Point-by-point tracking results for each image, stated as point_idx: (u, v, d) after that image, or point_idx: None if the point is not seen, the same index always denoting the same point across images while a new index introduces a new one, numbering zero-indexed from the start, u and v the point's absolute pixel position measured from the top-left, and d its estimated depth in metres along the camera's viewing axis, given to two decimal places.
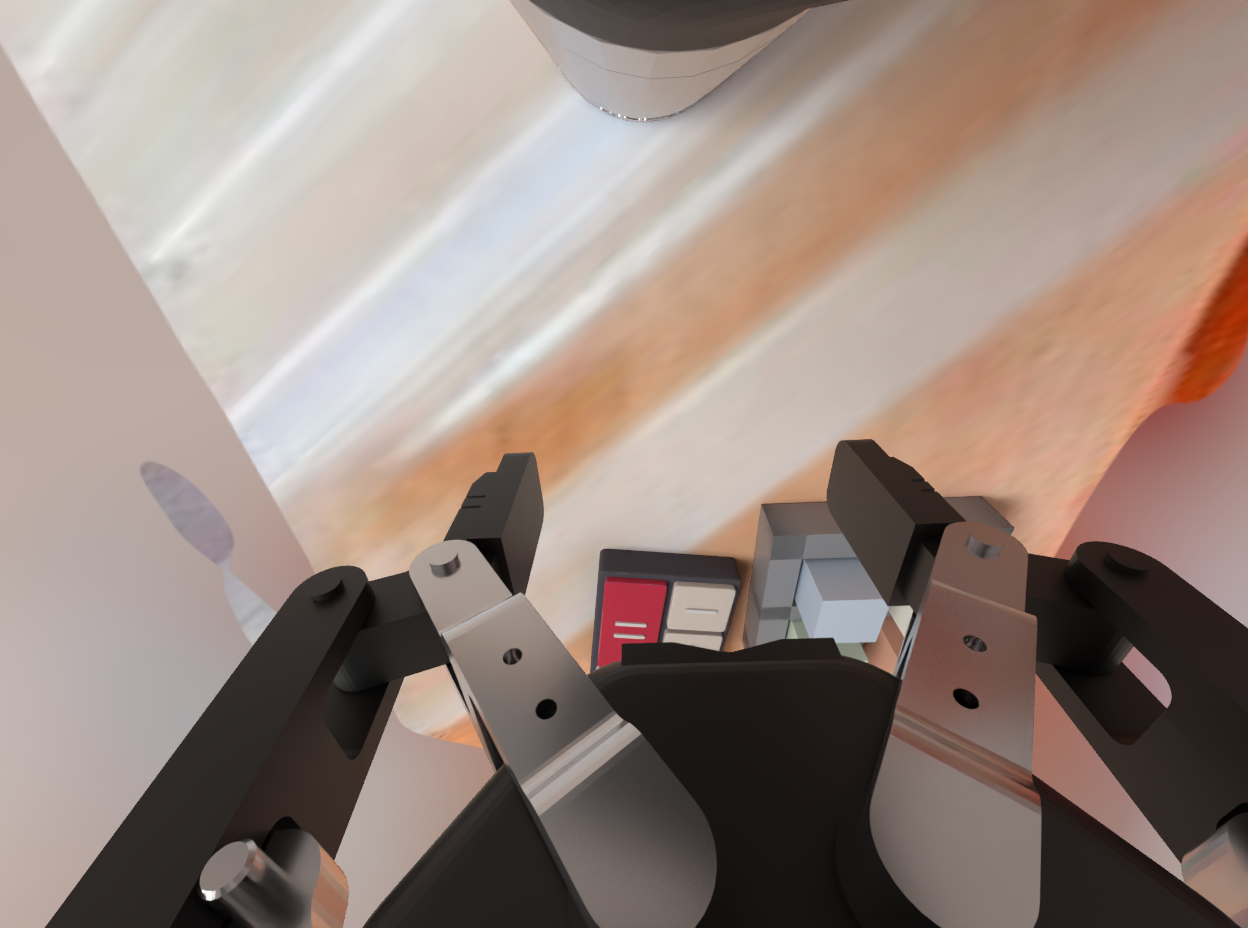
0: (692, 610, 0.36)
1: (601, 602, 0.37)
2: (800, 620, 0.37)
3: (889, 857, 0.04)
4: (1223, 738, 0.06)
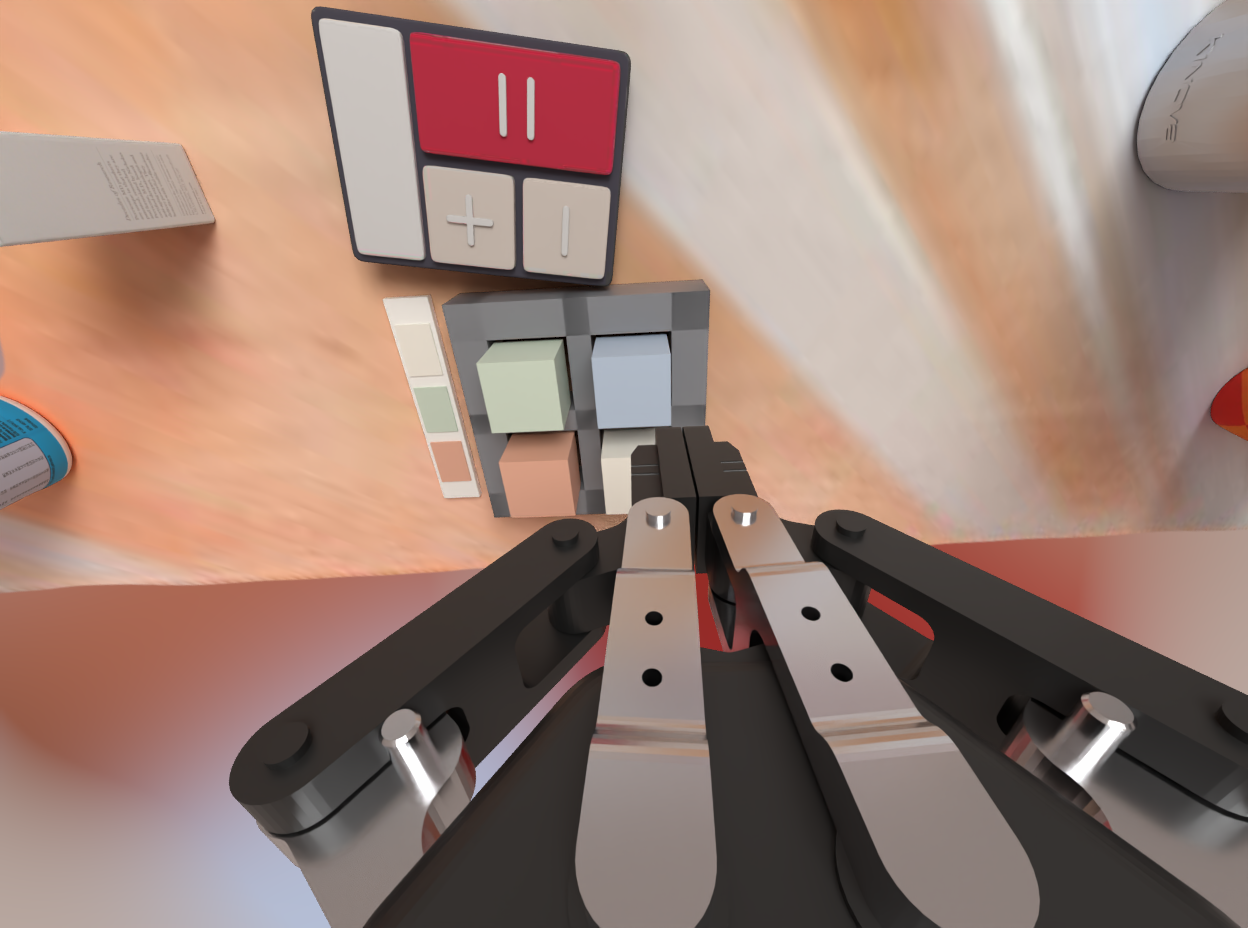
0: (567, 218, 0.26)
1: (564, 52, 0.23)
2: (563, 351, 0.30)
3: (934, 910, 0.04)
4: (980, 653, 0.07)
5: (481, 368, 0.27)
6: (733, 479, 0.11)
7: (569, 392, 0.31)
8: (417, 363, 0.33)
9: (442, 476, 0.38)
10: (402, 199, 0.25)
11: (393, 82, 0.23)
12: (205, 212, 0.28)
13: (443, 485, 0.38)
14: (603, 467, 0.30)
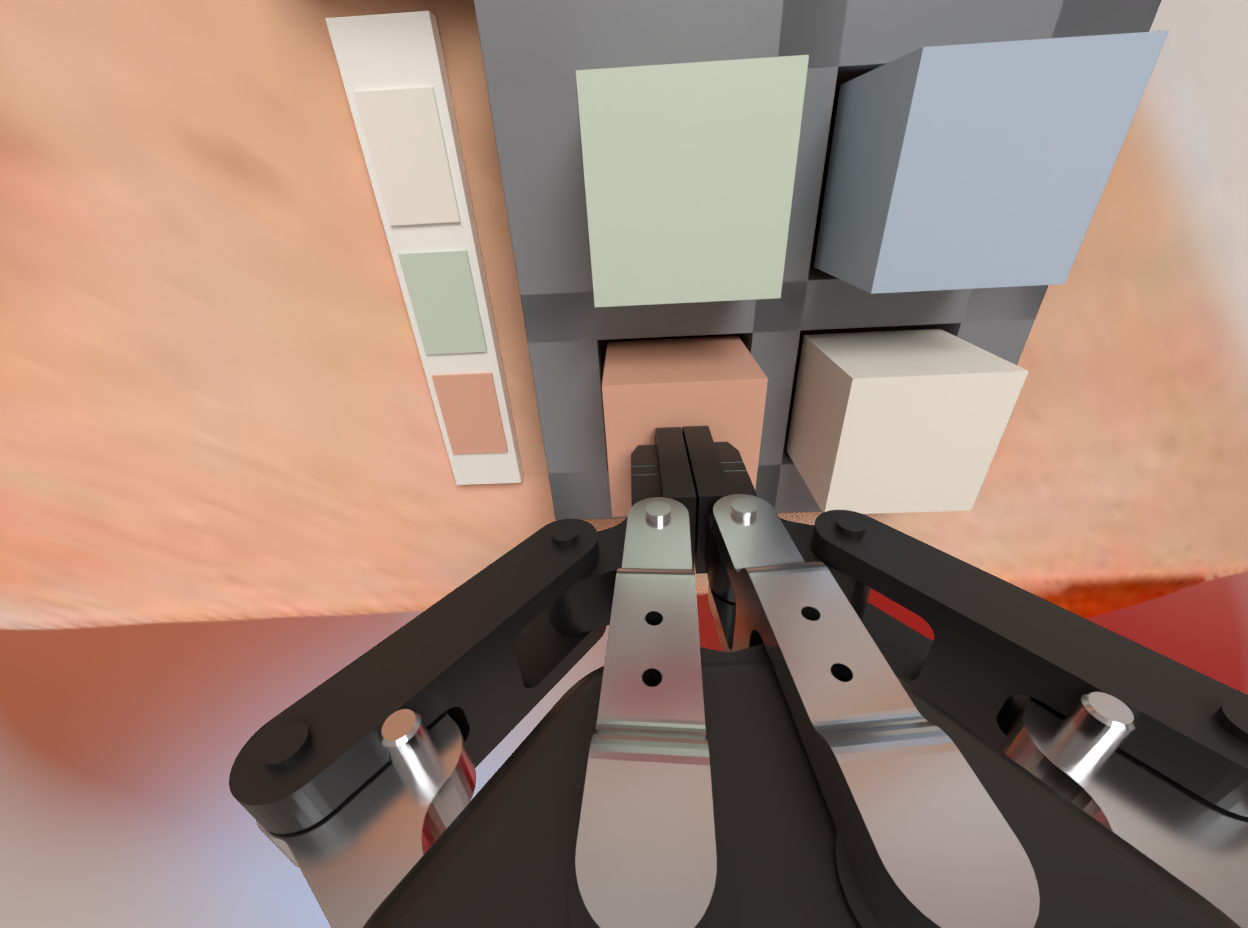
0: None
1: None
2: None
3: (933, 910, 0.04)
4: (980, 653, 0.07)
5: (589, 89, 0.09)
6: (733, 479, 0.11)
7: None
8: (406, 192, 0.15)
9: (454, 444, 0.20)
10: None
11: None
12: None
13: (456, 461, 0.21)
14: (852, 402, 0.12)
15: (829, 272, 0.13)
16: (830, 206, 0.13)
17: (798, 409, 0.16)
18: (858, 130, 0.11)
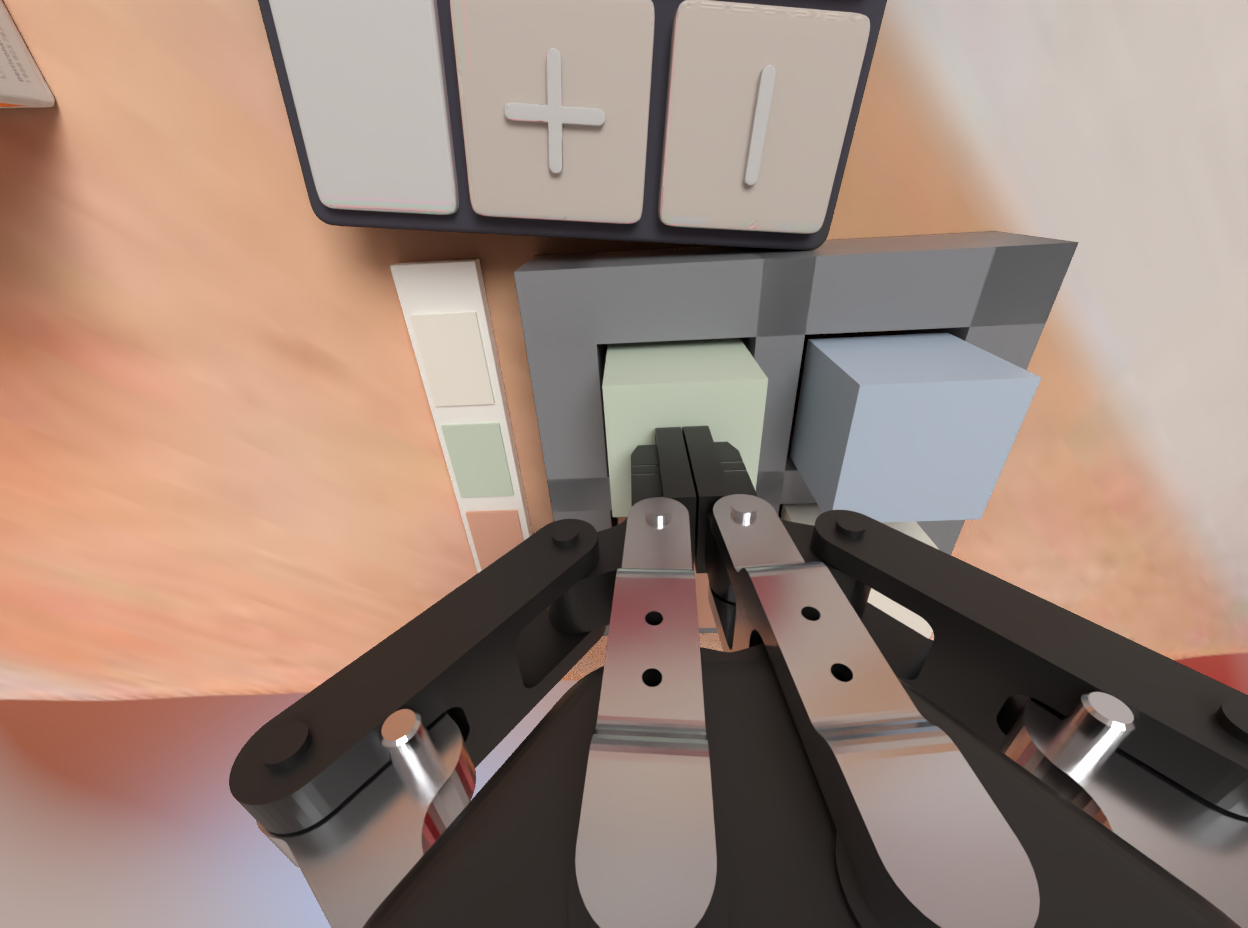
0: (767, 95, 0.12)
1: None
2: None
3: (932, 909, 0.04)
4: (980, 653, 0.07)
5: (611, 395, 0.13)
6: (733, 479, 0.11)
7: None
8: (450, 384, 0.18)
9: (482, 562, 0.23)
10: (407, 74, 0.11)
11: None
12: (28, 80, 0.14)
13: None
14: None
15: (801, 474, 0.16)
16: (801, 423, 0.16)
17: None
18: (820, 389, 0.14)
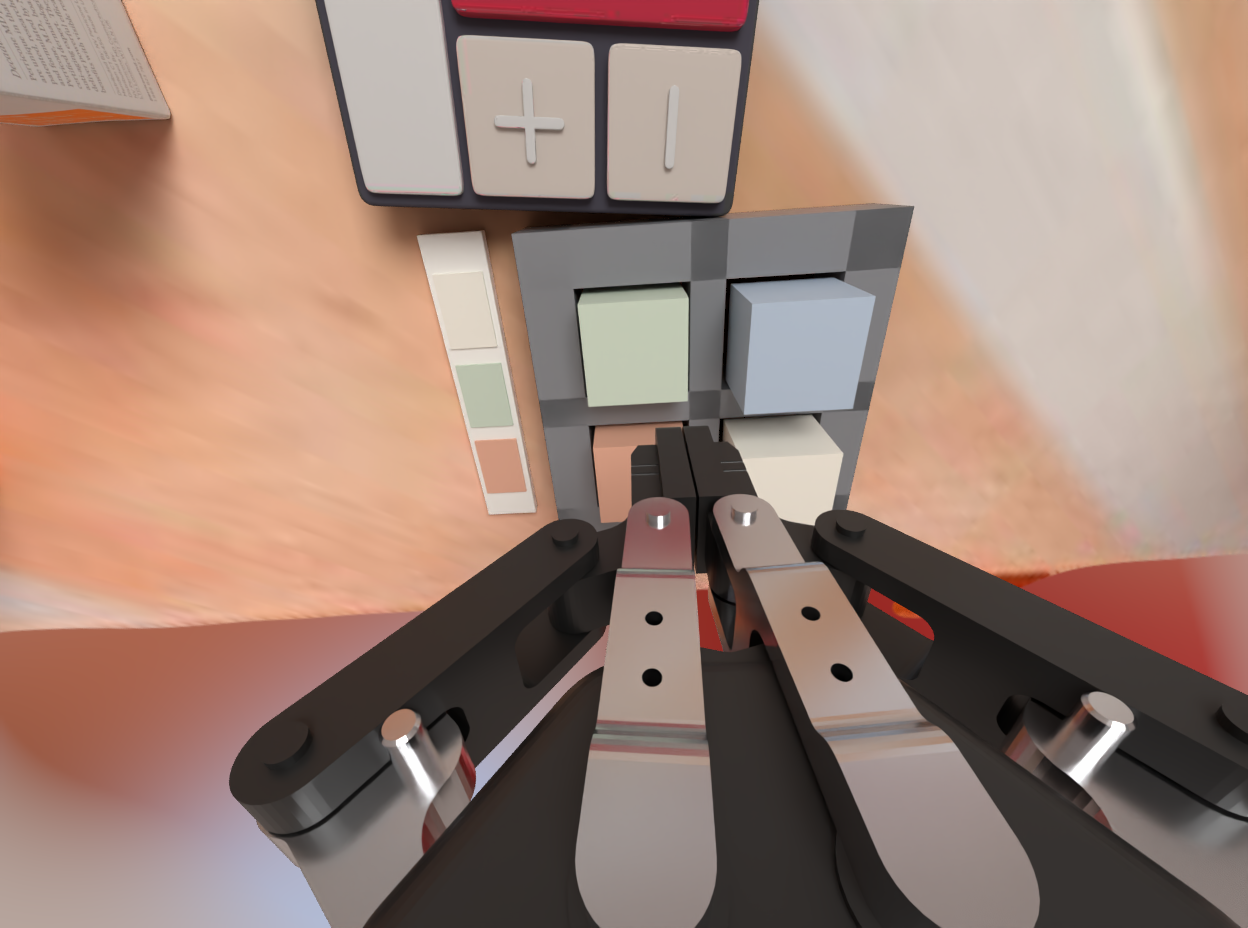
0: (675, 105, 0.17)
1: None
2: None
3: (934, 911, 0.04)
4: (981, 653, 0.07)
5: (584, 312, 0.19)
6: (733, 479, 0.11)
7: None
8: (462, 330, 0.24)
9: (488, 486, 0.29)
10: (427, 97, 0.17)
11: None
12: (155, 100, 0.19)
13: (489, 498, 0.29)
14: None
15: (731, 389, 0.21)
16: (729, 350, 0.21)
17: None
18: (736, 318, 0.20)
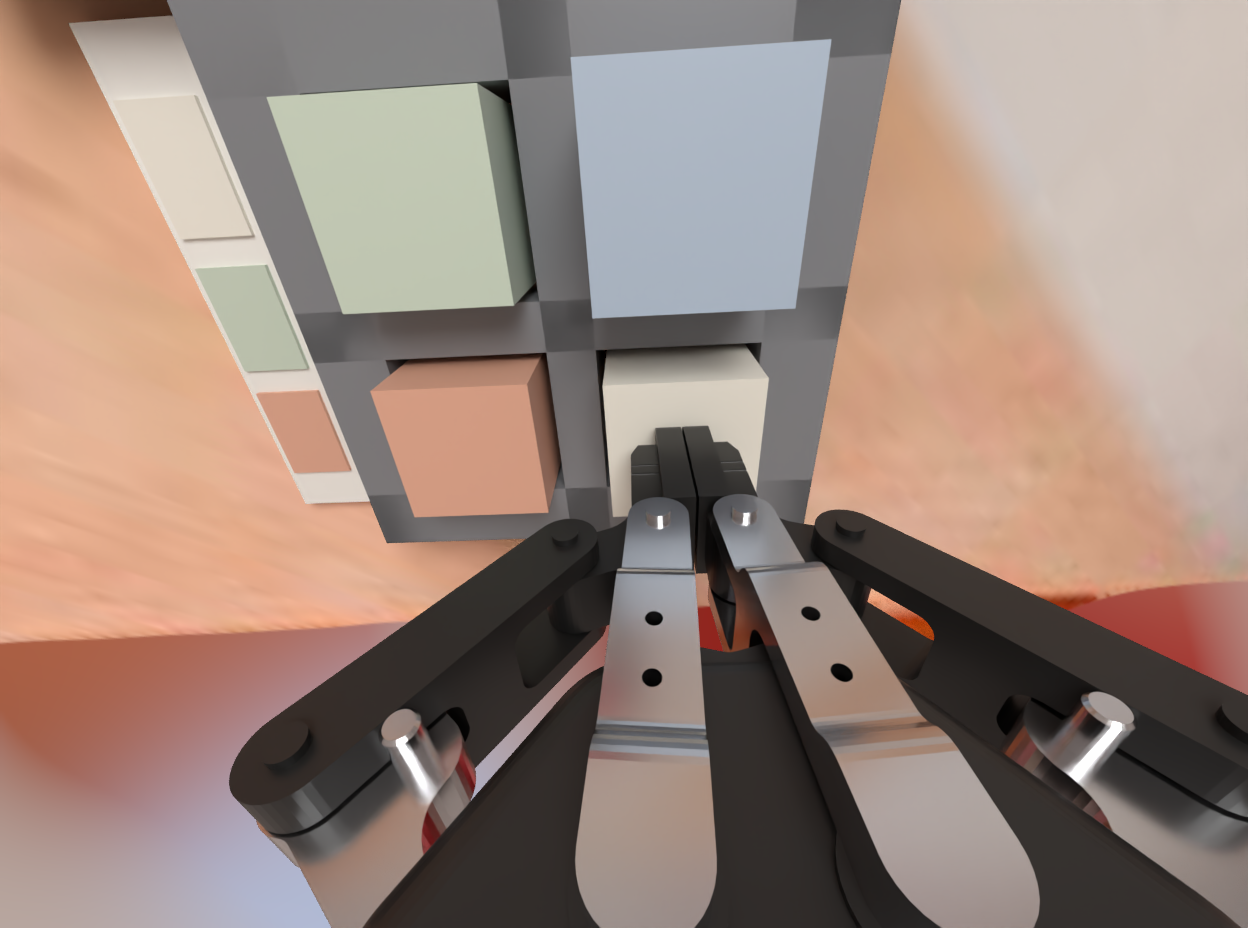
0: None
1: None
2: None
3: (932, 910, 0.04)
4: (980, 653, 0.07)
5: (284, 114, 0.10)
6: (733, 479, 0.11)
7: None
8: (190, 205, 0.15)
9: (293, 462, 0.20)
10: None
11: None
12: None
13: (300, 480, 0.20)
14: (608, 408, 0.13)
15: None
16: None
17: None
18: None
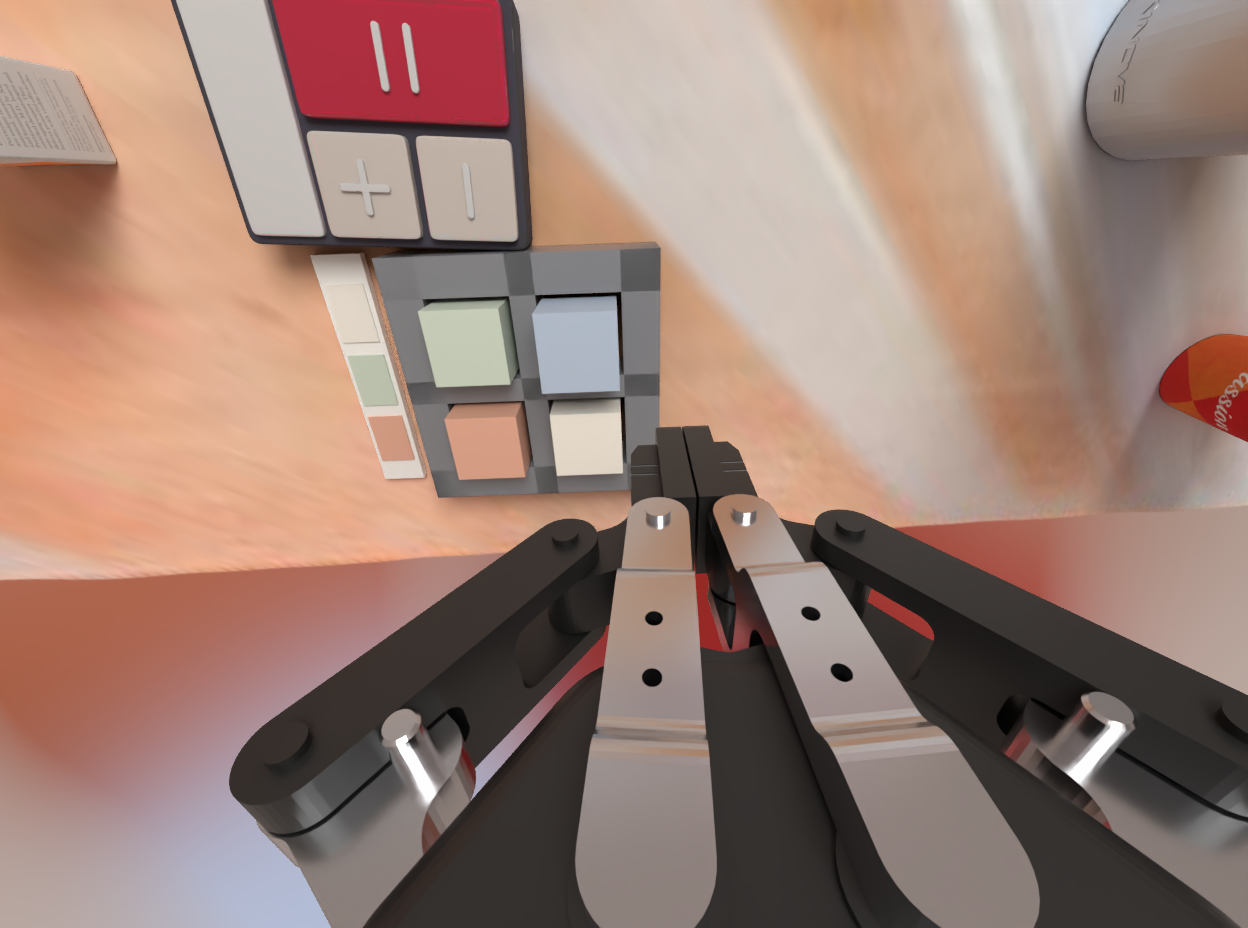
0: (468, 176, 0.24)
1: None
2: None
3: (932, 909, 0.04)
4: (980, 653, 0.07)
5: (423, 316, 0.26)
6: (733, 479, 0.11)
7: None
8: (351, 328, 0.30)
9: (382, 454, 0.35)
10: (291, 171, 0.24)
11: (261, 42, 0.21)
12: (104, 151, 0.26)
13: (384, 465, 0.36)
14: (552, 425, 0.29)
15: None
16: None
17: None
18: None
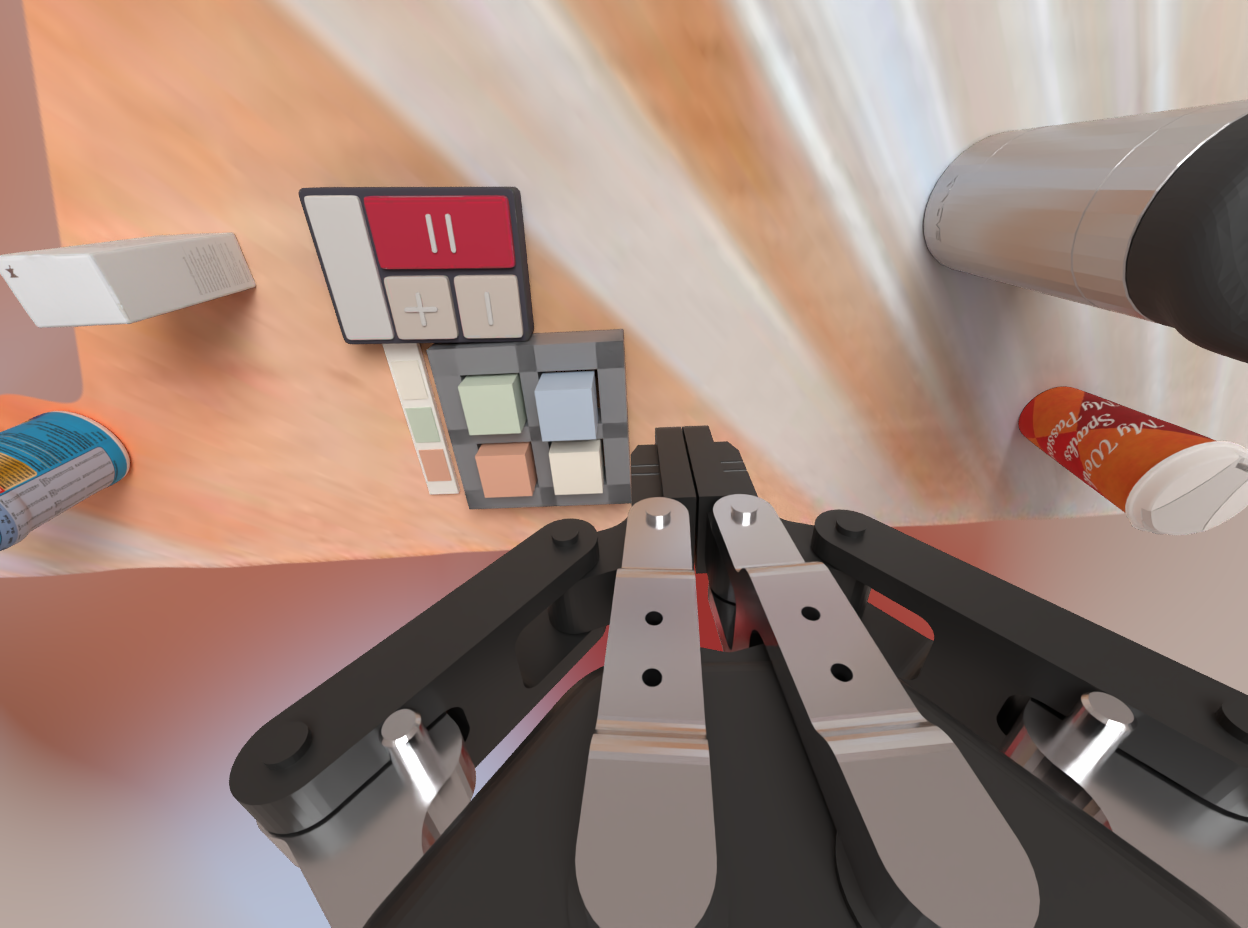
0: (488, 299, 0.36)
1: (468, 193, 0.33)
2: None
3: (932, 909, 0.04)
4: (980, 653, 0.07)
5: (461, 390, 0.38)
6: (733, 479, 0.11)
7: None
8: (408, 390, 0.43)
9: (428, 477, 0.48)
10: (373, 300, 0.36)
11: (356, 228, 0.34)
12: (249, 280, 0.38)
13: (429, 484, 0.48)
14: (551, 459, 0.41)
15: None
16: None
17: None
18: None
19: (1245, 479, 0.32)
